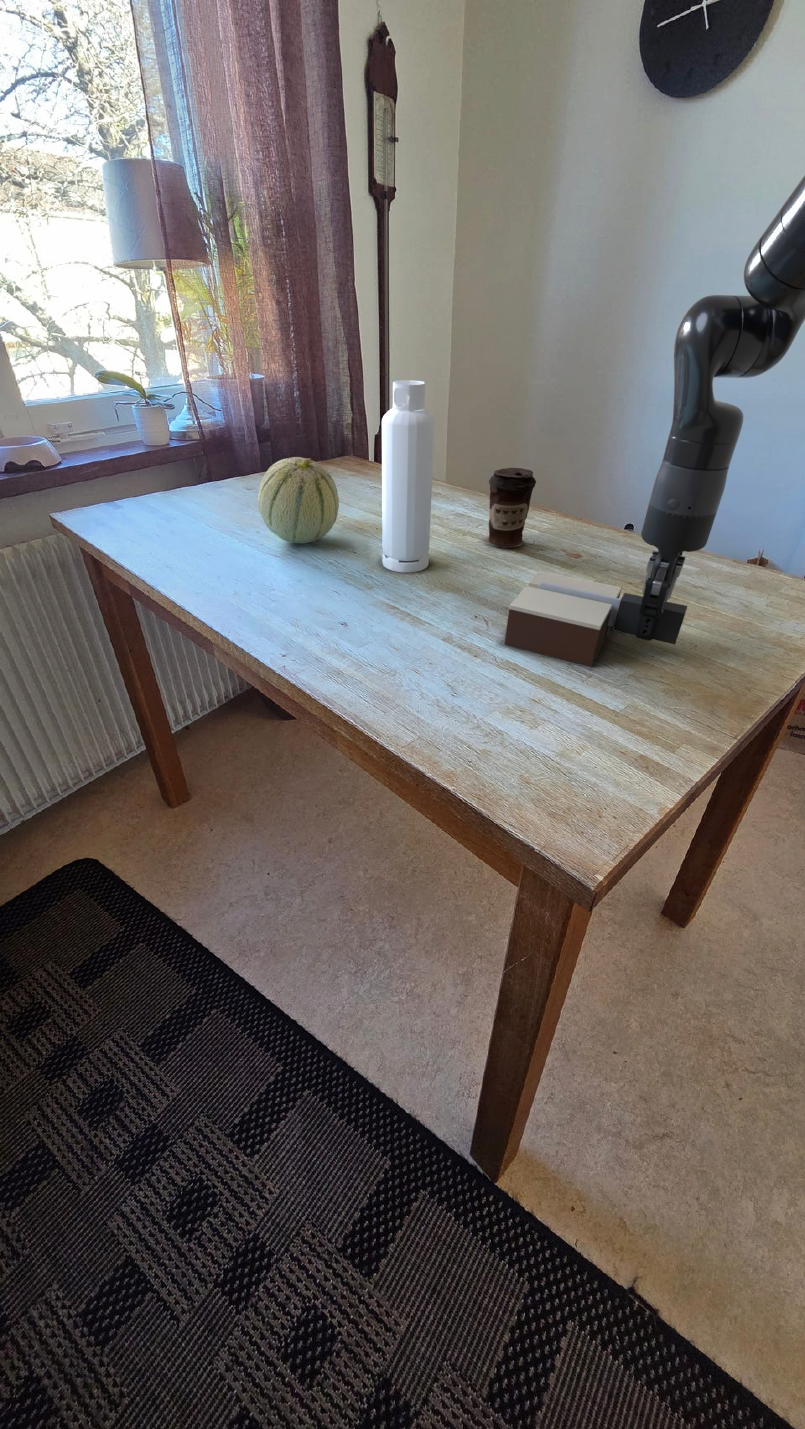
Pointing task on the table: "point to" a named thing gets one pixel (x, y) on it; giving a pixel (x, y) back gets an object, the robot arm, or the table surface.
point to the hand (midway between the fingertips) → (645, 632)
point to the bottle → (407, 478)
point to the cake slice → (576, 585)
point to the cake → (557, 625)
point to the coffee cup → (509, 505)
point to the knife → (631, 612)
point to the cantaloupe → (298, 500)
